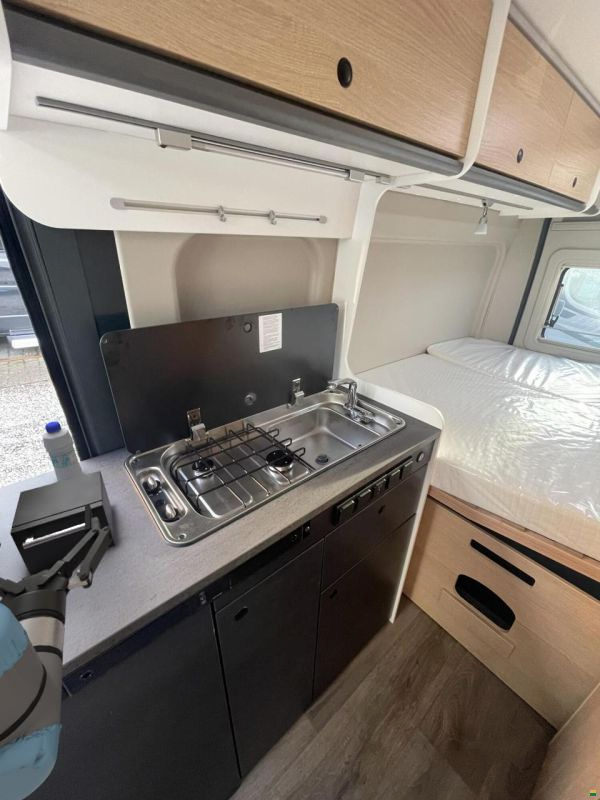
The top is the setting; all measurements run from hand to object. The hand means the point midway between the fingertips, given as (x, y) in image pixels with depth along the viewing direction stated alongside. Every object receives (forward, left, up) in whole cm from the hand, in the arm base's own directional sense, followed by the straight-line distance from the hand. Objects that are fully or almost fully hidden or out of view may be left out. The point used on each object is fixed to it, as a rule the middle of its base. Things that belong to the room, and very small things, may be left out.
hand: (44, 523), depth 58 cm
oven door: (-4, +7, -19) cm, 21 cm away
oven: (-8, +14, -19) cm, 26 cm away
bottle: (-22, +35, -20) cm, 46 cm away
